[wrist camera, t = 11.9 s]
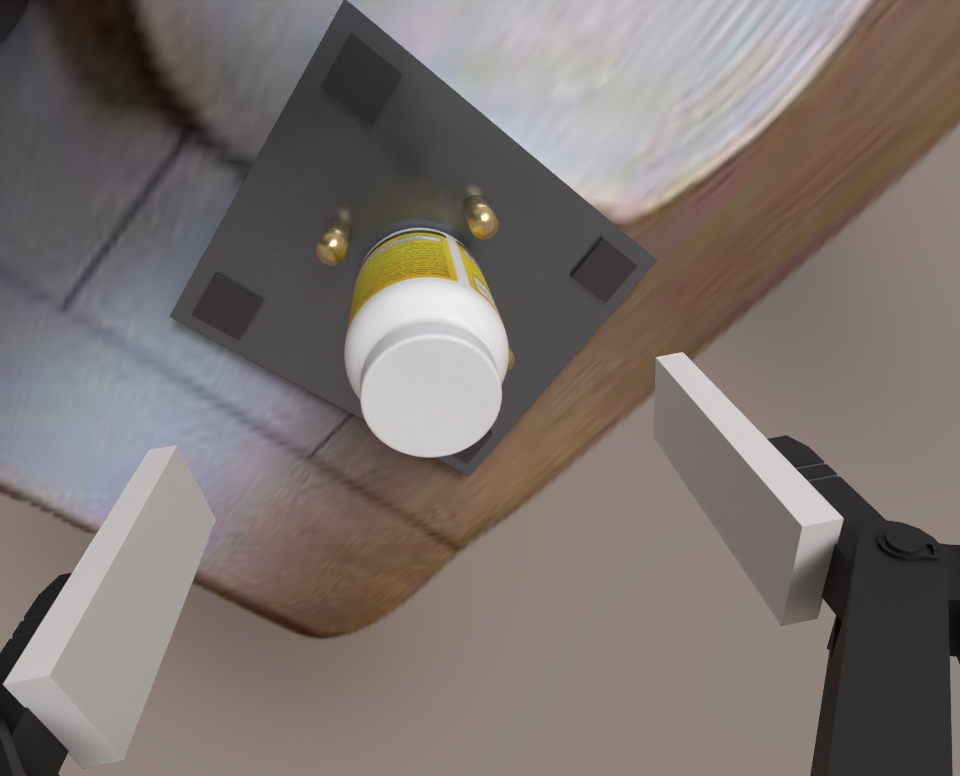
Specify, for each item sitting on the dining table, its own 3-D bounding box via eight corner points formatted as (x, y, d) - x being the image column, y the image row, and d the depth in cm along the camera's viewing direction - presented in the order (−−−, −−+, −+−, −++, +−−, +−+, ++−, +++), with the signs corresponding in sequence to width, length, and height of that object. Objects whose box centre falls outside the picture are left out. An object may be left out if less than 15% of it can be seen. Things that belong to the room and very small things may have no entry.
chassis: (177, 307, 29) (145, 342, 25) (347, 1, 23) (337, -11, 20) (467, 464, 35) (475, 509, 32) (648, 254, 30) (682, 279, 26)
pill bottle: (336, 315, 28) (304, 441, 19) (388, 201, 26) (381, 277, 17) (448, 363, 30) (470, 498, 21) (505, 260, 28) (559, 360, 19)
